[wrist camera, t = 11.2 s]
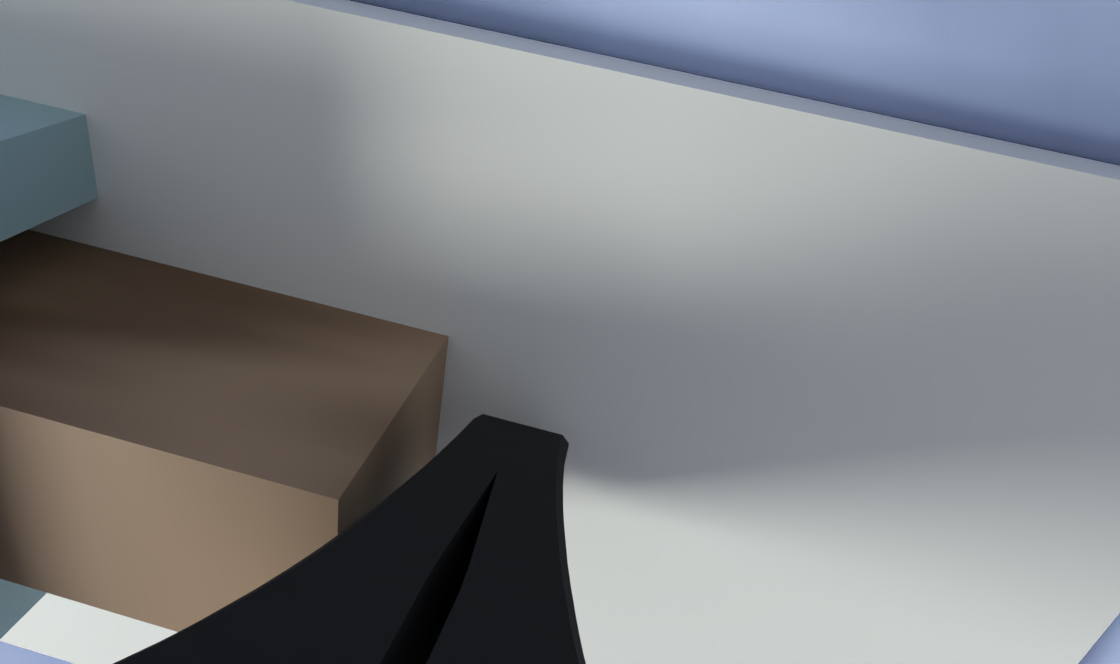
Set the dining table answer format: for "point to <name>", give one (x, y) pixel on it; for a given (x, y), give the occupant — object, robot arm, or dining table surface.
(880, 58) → the dining table surface
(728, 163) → the board
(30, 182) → the teal block
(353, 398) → the slat
